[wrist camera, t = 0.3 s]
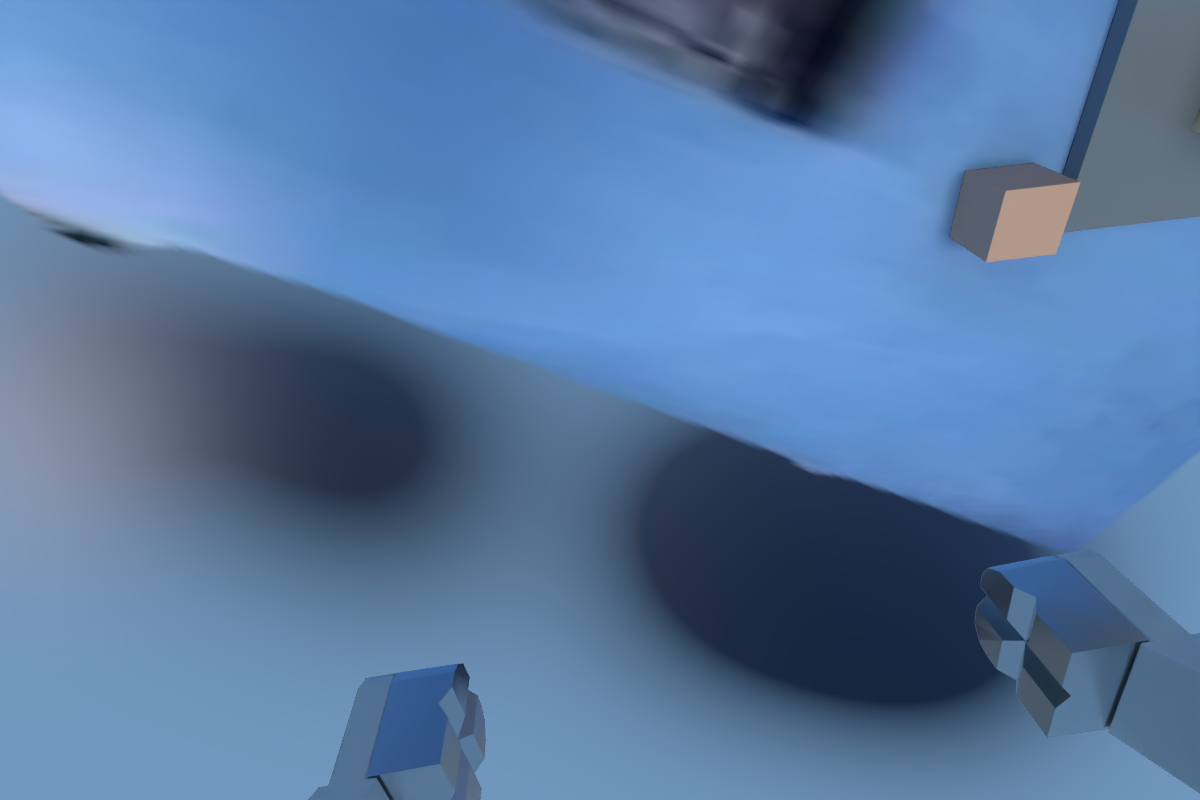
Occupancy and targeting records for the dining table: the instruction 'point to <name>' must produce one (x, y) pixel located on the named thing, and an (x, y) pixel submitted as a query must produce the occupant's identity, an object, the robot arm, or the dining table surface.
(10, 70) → the dining table surface
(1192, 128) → the block
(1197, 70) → the slate board
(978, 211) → the terracotta block
